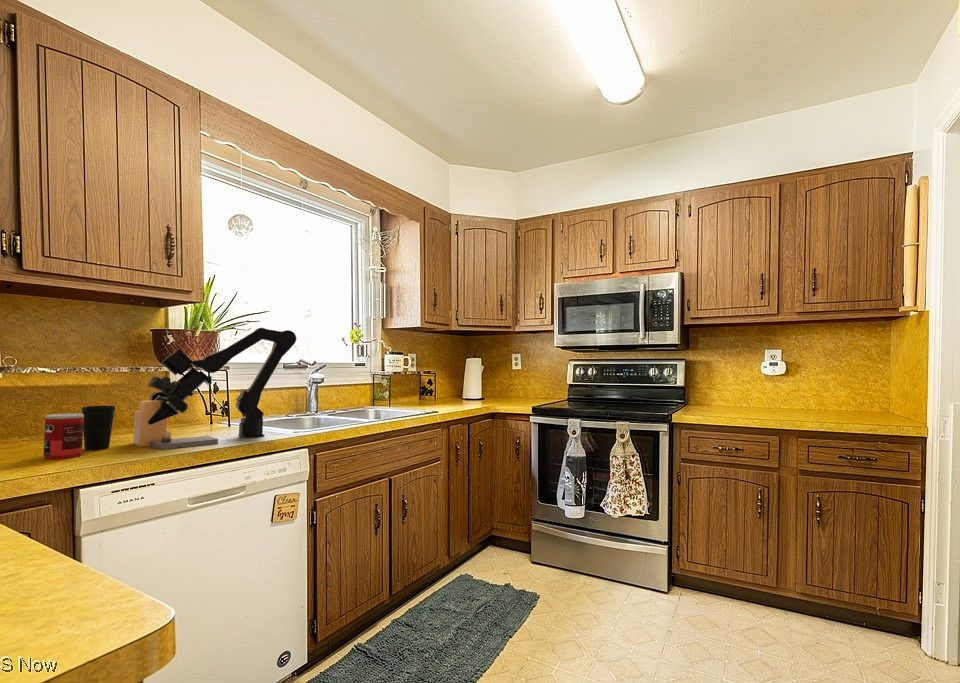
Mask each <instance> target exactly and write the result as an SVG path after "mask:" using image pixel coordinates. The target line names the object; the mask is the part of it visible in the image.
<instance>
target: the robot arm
mask: <svg viewBox="0 0 960 683" xmlns="http://www.w3.org/2000/svg"><path fill="white" fill-rule="evenodd" d="M297 339H298V338H297V334H295V332H294V331H292V330H282V331H279V330H273V329H269V328H265V327H257V328H256V329H254V331H252V332H250V333H249V334H247V335H245V336H244V337H243V338H241V339H239V340H237V341H235V342H234V343H232V344H231V345H229V346H227V347H226V348H224V349H221V350H219V351H215V352H213V353H211V354H208V355H206V356H204V357H203V358H202V359H193V360H192V359H191V358H190V357H188V356H187V355H186V354H185V353H184V351H183V350H182V349H181V348H178V349H177V350H175V351H174V352H173V353H172V354H170V355H168V356H167V357H166V358H165V359H163V360H162V361H161V362H160V365H162V366H164V368H166V369H167V370H168V371H169V372H170V373H171V374H173V375H174V376H176V375H179V376H182V375H183V376H182V377H180V378H179V379H178V380H177V381H176V380H174V381H171V378H170V377H169V376H162V377H161V378H160V377H158V376H152V378H151V379H150V381H149V383H148V384H147V387H149V388H154V389H156V390H159V391H153V392H151V394H150V395H149V401H155V400H159V401H161V403H160V408H159V409H158V410H157V411H156V413H155V414H154V415H153V416H152V417H151V418H150V420H149V421H148V424H150V425H151V424H154V423H156V422H159V421H161V420H163V419H166V418H167V419H169V418H171V417H173V416H176V415H179V414H184V413H185V412H186V411H187V410H188V404H187V403H186V402H185V400H186V399H187V398H189V397H192V396H193V395H194V392H195V391H196V390H197V389H198V388H199V387H200V386H202V385H203V384H205V385H207V386H208V385H211V384H212V383H213V382H212V378H213V376H212V375H210V376H208V375H207V374H205V373H210V374H214V373H217V372H218V371H220V370H221V369H222V368H223V367H225V366H226V365H227V363H228V362H229V361H231V360H232V359H233V358H234V357H236V356H238V355H239V354H241V353H242V352H244V351H245V350H247V349H248V348H251V347H252V346H253V345H256V344H257V343H259V342H260V341H262V340H264V341H268V342H272V347H271V351H270V353H269V355H268V356H267V357H266V360H265V362H263V364H262V367H261V368H260V370H259V371H258V373H257V374H256V377H255V378H254V380H253V381H252V383H251V385H250V386H248V388H247V389H244V388H241V390H240V393H239V395H238V396H237V397H236V398H235V401H236V402H235V409H236V410H237V411H238V412H239V413H241V416H242V417H241V418H240V422H239V424H238V425H239V426H238V434H237V436H238V437H240V438H241V437H242V438H258V437H265V436H266V435H265V434H264V433H263V430H264V427H263V426H264V424H263V423H264V417H263V416H264V415H265V413H264V412H263V411H262V410H261V409H260V408H259V407H258V405H259V403H260V399H261V396H262V393H263V391H264V388H265V386H267V383H268V381H269V380H270V379H271V377H272V375H273V373H274V371H275V370H276V368H277V367H278V364H280V361H281V360H282V358H283V357H284V355H285V354H287V353H288V351H290V349H291V348H292V347H293V346H294V345H295V344H296V342H297ZM196 368H199V369H201V370H199V371H198V369H196ZM202 370H203V371H204V372H205V373H204V372H203V371H202ZM184 373H185V374H184Z"/></svg>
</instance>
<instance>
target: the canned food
mask: <svg viewBox="0 0 960 683" xmlns="http://www.w3.org/2000/svg"><path fill="white" fill-rule="evenodd" d="M83 424H84V414H82V413H77V412H75V413H74V412H73V413H72V412H71V413H53V414H52V413H51V414H46V415H45V419H44V434H43V453H42V454H43V458H44V459H46V460H67V459H72V458H73V459H74V458H78V457H80V456H82V453H83V444H84V432H83Z"/></svg>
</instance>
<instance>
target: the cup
mask: <svg viewBox="0 0 960 683" xmlns="http://www.w3.org/2000/svg"><path fill="white" fill-rule="evenodd" d="M115 410H116V406H115V405H88V406H83V407H81V414H84V424H83V444H84V451H101V450H100V449H103V450H108V449H109V448H110V442H111V438H112V430H113V423H114V418H115ZM107 448H108V449H107Z"/></svg>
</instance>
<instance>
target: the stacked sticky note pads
mask: <svg viewBox="0 0 960 683" xmlns="http://www.w3.org/2000/svg"><path fill="white" fill-rule="evenodd" d="M160 403H161V401H159V400H155V401H150V400H140V401H139V410H134V422H133V423H134V424H133V445H135V446H137V447H140V446H141V447H148V446H149V447H151V446H150V441H154V440H161V438H162V432H163V431H167V427H168V426H167V424H168V418H166V419H163V420H161V421H159V422H156V423H154V424H151V425H150V424H148V421H149V420H150V418H151V417H152V416H153V415H154V414H155V413H156V411H157V410H158V409H159V408H160Z"/></svg>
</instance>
